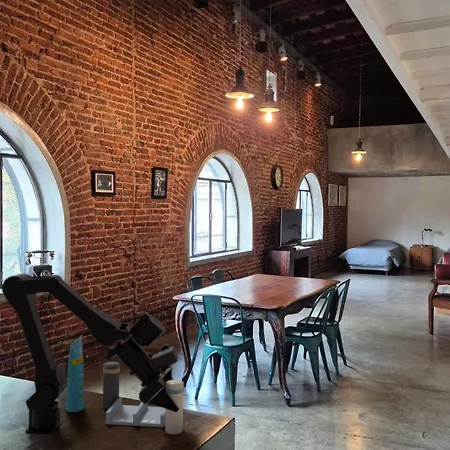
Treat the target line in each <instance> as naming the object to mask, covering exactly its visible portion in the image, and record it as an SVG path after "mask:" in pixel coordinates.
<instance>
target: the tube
mask: <svg viewBox="0 0 450 450" xmlns="http://www.w3.org/2000/svg"><path fill="white" fill-rule="evenodd" d="M83 351H84V349H83V340H82V336H80V337H78V339H77V340H75V341H74V342H71V344H70V349H69V355H68V363H67V374H68V376H69V377H68V378H67V386H66V396H65V397H66V398H65V411H66V412H69V413H78V412H80V411H83V410H84V409H85V385H84V384H85V383H84V382H85V381H84V380H85V375H84V374H85V373H84V354H83V353H84V352H83Z"/></svg>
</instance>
